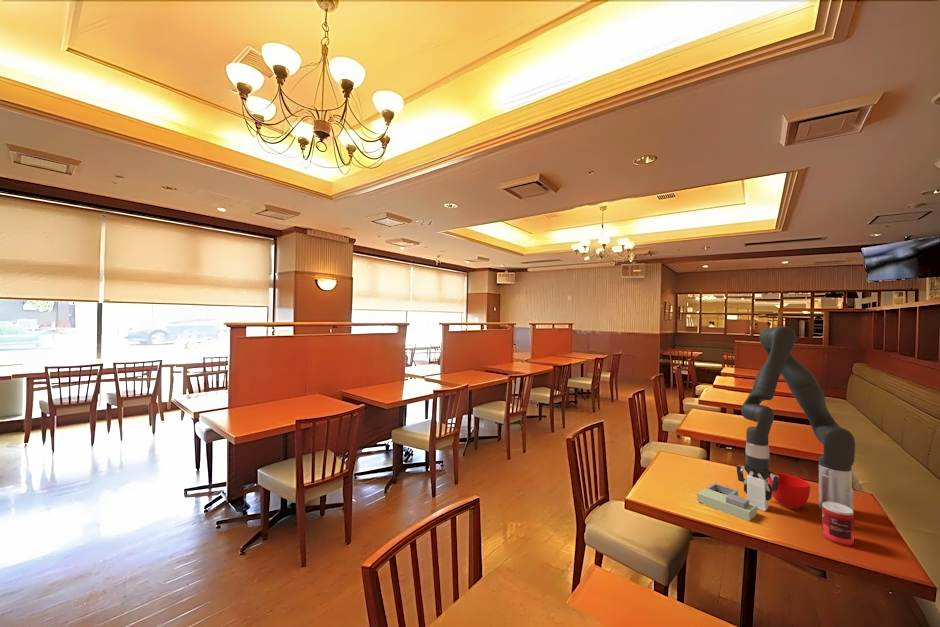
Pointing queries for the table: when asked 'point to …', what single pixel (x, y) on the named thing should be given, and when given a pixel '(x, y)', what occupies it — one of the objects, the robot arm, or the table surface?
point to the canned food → (838, 523)
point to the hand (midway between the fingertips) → (757, 496)
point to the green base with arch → (727, 501)
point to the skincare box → (757, 492)
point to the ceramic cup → (791, 491)
